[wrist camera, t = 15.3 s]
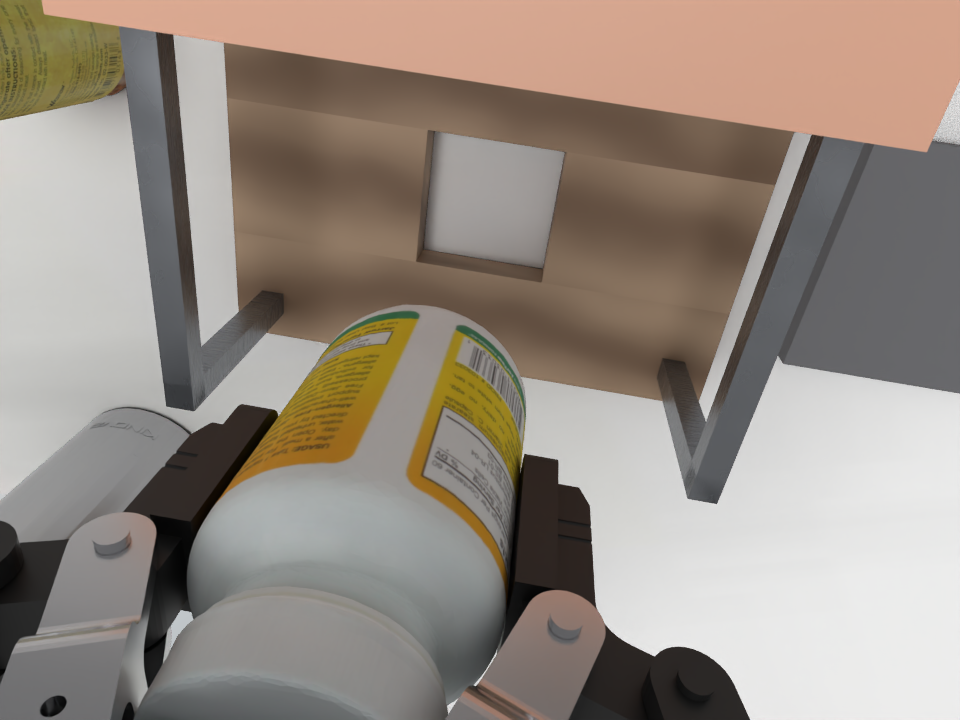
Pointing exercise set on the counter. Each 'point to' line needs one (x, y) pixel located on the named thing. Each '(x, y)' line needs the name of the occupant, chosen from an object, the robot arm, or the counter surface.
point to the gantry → (202, 369)
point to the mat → (888, 274)
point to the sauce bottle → (54, 60)
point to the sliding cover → (623, 51)
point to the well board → (483, 283)
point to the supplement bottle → (360, 536)
